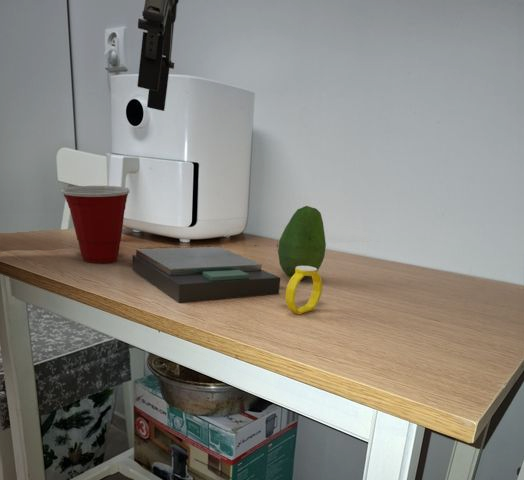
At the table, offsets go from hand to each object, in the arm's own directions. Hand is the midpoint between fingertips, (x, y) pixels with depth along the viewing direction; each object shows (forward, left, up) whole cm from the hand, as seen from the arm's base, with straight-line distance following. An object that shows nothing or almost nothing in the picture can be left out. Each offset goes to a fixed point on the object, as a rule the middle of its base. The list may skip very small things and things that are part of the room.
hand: (152, 100), depth 72 cm
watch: (+29, +10, -25) cm, 40 cm away
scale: (+11, +4, -25) cm, 28 cm away
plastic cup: (-7, -7, -25) cm, 27 cm away
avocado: (+13, +21, -25) cm, 35 cm away
